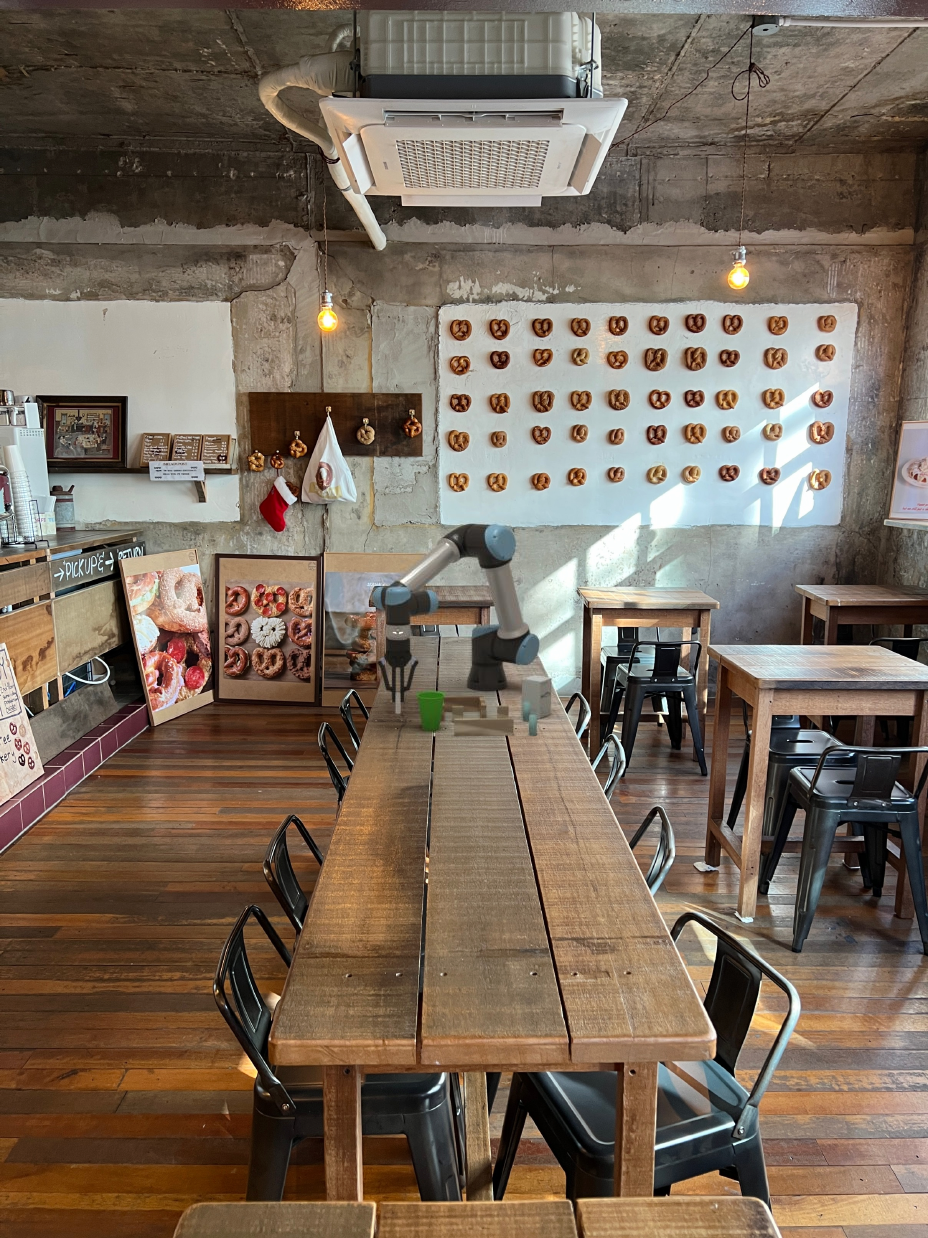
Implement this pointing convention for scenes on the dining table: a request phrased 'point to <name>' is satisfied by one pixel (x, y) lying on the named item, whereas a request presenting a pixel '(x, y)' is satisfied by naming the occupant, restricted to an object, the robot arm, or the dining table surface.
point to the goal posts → (530, 718)
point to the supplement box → (537, 695)
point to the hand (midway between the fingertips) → (398, 712)
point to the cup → (430, 709)
